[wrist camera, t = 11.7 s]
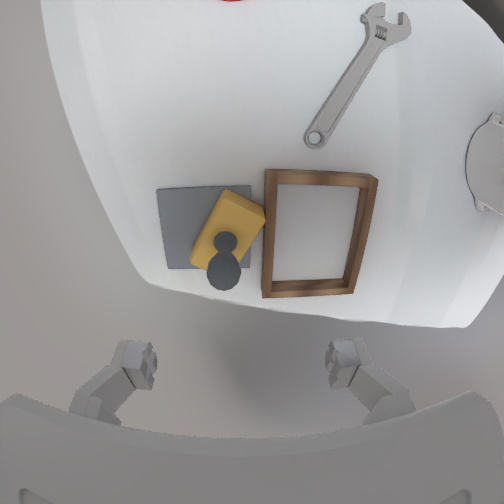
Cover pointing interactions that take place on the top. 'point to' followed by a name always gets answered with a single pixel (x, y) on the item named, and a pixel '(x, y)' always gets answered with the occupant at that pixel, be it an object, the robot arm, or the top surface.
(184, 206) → the slate mat
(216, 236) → the rubber stamp
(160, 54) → the top surface
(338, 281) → the wooden frame
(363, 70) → the adjustable wrench
